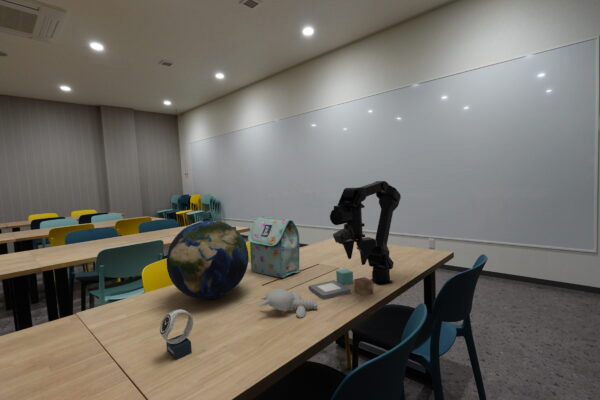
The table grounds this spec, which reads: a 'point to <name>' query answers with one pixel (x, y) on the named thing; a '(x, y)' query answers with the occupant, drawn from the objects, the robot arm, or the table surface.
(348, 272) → the teal block
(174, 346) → the watch
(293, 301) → the toy creature
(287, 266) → the lunch bag
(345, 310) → the table surface
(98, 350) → the table surface
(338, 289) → the baseplate
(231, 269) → the globe
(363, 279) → the walnut block
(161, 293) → the table surface
